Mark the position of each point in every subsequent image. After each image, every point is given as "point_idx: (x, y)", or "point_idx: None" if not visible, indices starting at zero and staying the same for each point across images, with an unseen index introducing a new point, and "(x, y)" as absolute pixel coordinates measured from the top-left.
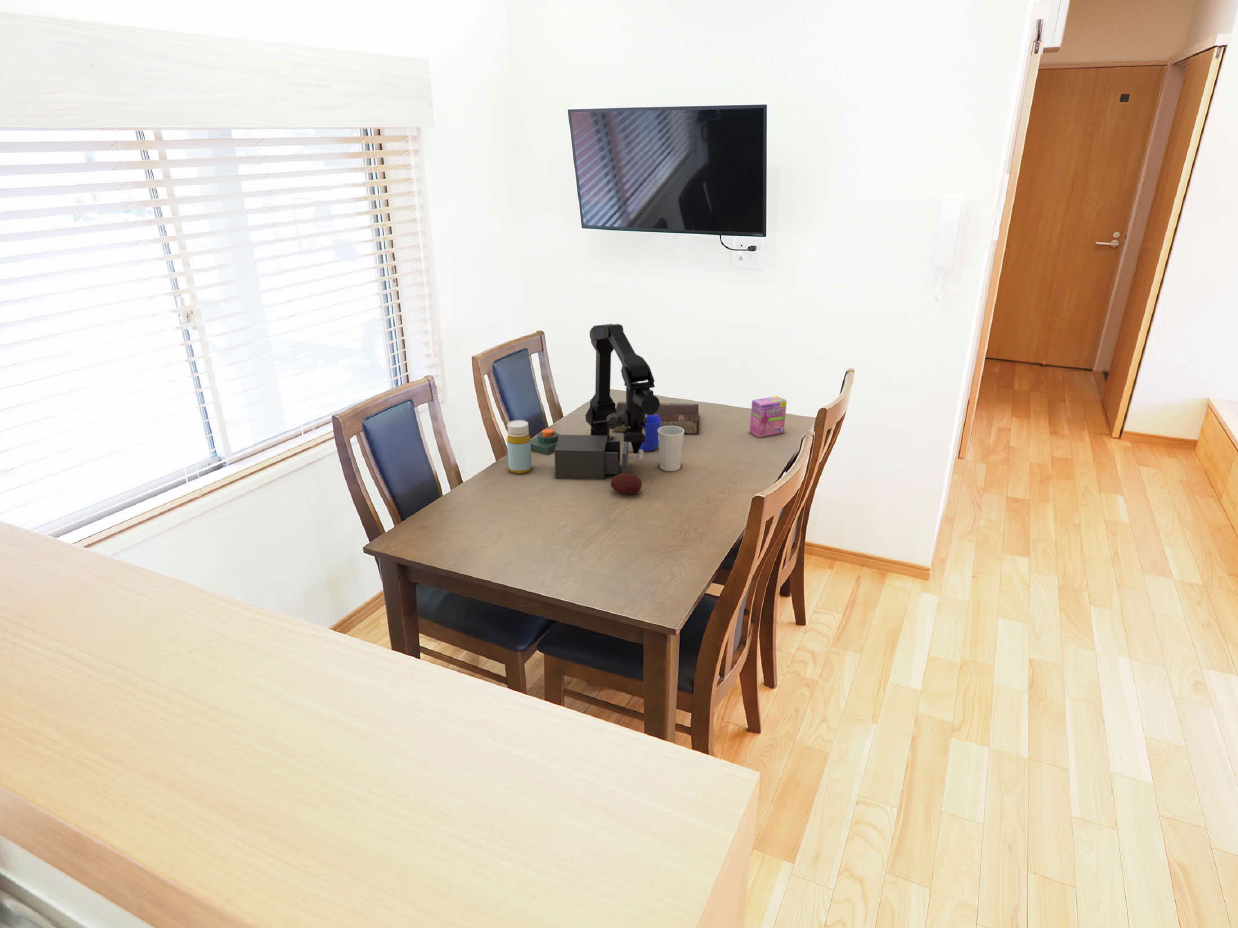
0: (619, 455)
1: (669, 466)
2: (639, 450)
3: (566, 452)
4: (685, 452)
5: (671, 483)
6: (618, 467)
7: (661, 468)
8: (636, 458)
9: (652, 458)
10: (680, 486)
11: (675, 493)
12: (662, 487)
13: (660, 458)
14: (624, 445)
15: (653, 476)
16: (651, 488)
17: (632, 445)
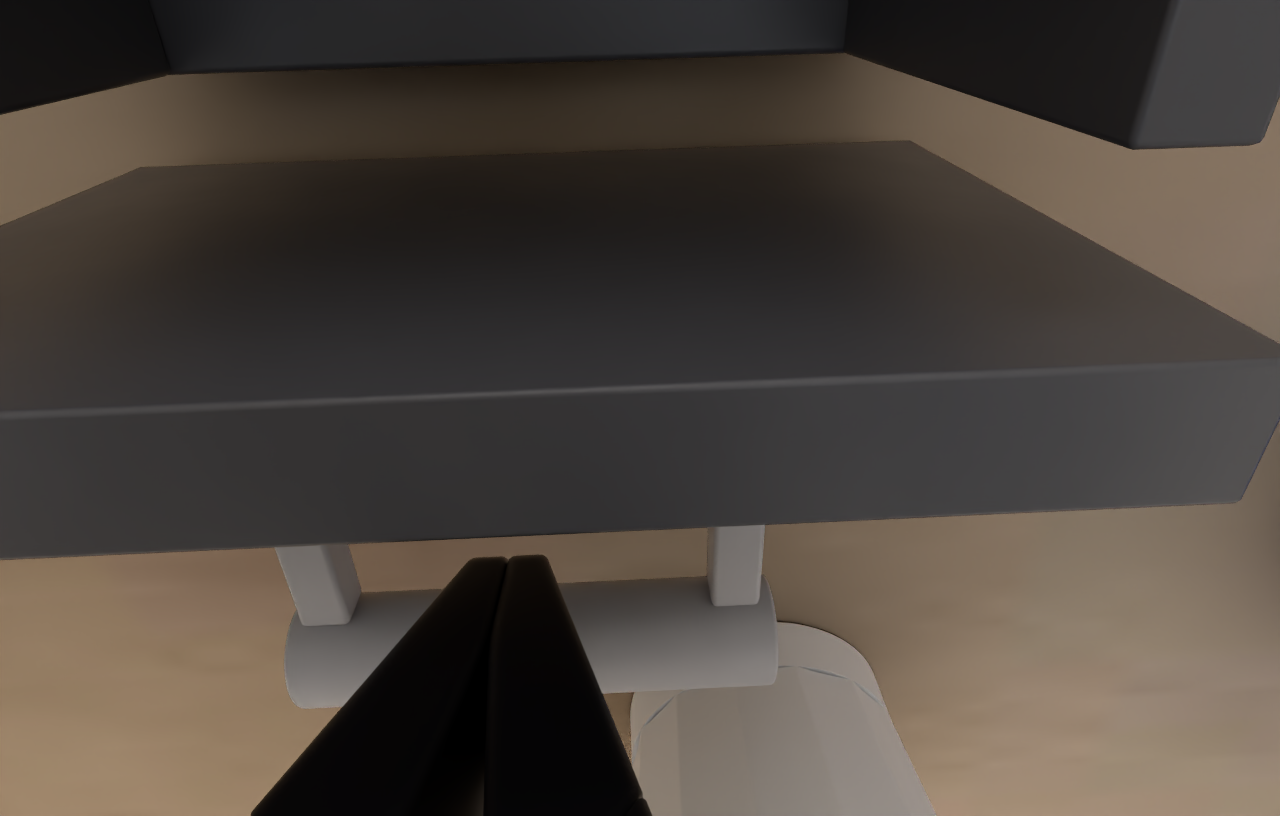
0: (880, 48)
1: (634, 765)
2: (726, 636)
3: None
4: (1148, 796)
5: (283, 745)
6: (370, 61)
7: None
8: (297, 588)
9: (1055, 527)
10: (238, 809)
11: (36, 787)
12: (130, 683)
13: (728, 755)
14: (546, 427)
15: (432, 580)
16: (34, 586)
17: (279, 804)
